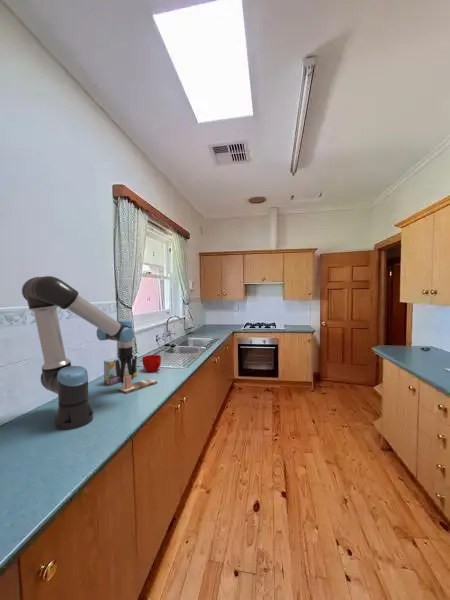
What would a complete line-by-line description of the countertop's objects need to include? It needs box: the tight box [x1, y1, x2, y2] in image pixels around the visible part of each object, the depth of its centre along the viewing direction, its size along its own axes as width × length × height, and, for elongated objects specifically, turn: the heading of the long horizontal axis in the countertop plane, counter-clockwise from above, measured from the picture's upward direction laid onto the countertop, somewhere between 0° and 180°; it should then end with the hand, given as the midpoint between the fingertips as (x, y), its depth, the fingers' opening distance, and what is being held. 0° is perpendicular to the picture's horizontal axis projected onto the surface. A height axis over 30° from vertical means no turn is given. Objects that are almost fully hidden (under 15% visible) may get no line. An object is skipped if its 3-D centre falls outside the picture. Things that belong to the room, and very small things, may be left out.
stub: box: [117, 374, 135, 392], centre depth 157 cm, size 6×8×7 cm
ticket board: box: [117, 378, 158, 395], centre depth 163 cm, size 21×9×2 cm, turn 141°
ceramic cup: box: [141, 354, 162, 373], centre depth 193 cm, size 13×17×10 cm
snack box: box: [103, 353, 138, 387], centre depth 174 cm, size 21×6×15 cm, turn 148°
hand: (126, 386), depth 157 cm, fingers open, 3 cm apart
